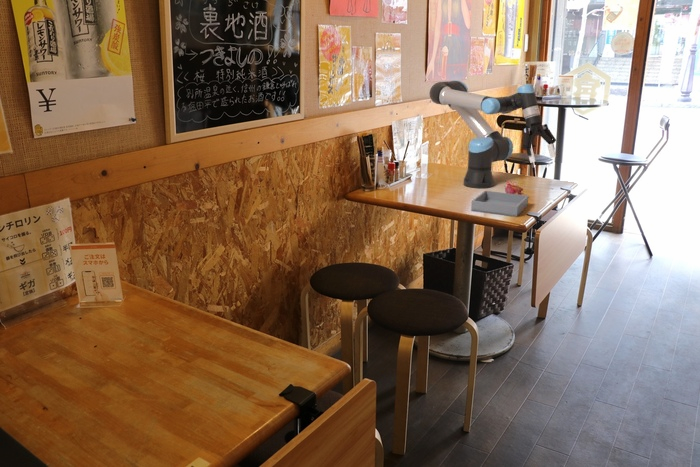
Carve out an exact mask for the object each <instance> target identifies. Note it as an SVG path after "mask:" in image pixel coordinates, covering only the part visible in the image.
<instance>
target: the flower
mask: <svg viewBox="0 0 700 467" xmlns="http://www.w3.org/2000/svg"><path fill="white" fill-rule="evenodd" d="M505 183H506V186H505V187H504V191H505V192H504V193H509V194H518V195H525V193H524V192H523V191H524V188H523V187H521V186H519V185H518V184H517V182H513V181H511V180H508V181H505Z"/></svg>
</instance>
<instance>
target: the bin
mask: <svg viewBox="0 0 700 467" xmlns="http://www.w3.org/2000/svg"><path fill="white" fill-rule="evenodd" d="M470 206H471V207H470V208H471V209H470V210H471V212H477V213H485V214H491V215H498V216H499V215H500V216H505V217H506V216H507V217H512V218H513V217H514V218H518V217H519V215H520V214H522V212H523V211H524V210H525V209H526V208H527V207H528V206H529V195H526V194H521V195H518V194H509V193H506V192H500V191H490V190H484V191H483V192H482V193H481V192H480V194H479V195H477V196H476V197H474V198H473V199H472V200H471V205H470Z"/></svg>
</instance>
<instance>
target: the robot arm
mask: <svg viewBox="0 0 700 467" xmlns="http://www.w3.org/2000/svg"><path fill="white" fill-rule="evenodd" d="M468 90H469V89H468V86H467V85H466V84H465V82H463V81H461V80H450V81H449V80H448V81H439V82H435V83H433V85H432V86H431V87H430V89H429V98H430V101H432V102H433V103H434V104H436V105H441V106H448V107H449V108H450V110H452V111H455V112H457V114H458V115H459V117H460V118H462V120H463V121H464V123H465V124H466V125H467V126H468V127H469V129H470V130H471V131H472V133H473V134H474V135H475V136H476V137H475V138H472V139H471V140H469V145H468V156H467V157H468V158H467V160H468V161H467V163H468V164H467V170H466V173H465V176H464V178H463V181H462V182H463V183H462V184H463V185H464V187H468V188H474V189H488V188H492V187H493V186H495V179H494V176H493V171H492V165H493V163H495V162H501V161H504V160H507V159H509V158H510V157H511V155H512V154H513V151H514V150H513V149H514V143H513V141H512V140H511V139H510V138H509V137H508V136H503V135H502V134H501V133H500V132H499V131H498V130H494V129H493V128H492V126H491V125H490V124H489V123H488V122H487V120H486V119H485V118H484V117H483V115H482V114H481V113H480V112H483V113H484V114H485V115H496V114H503V115H505V114H506V115H507V114H510V113H513V112H514V111H517V110H519V109H521V112H522V115H523V118H524V122H525V128H523V129H522V132H523V134H522V136H523V137H522V144H521V148H522V149H523V150H525V151H526V154H527V156H528V159H529V162H530V164H531V163H535V162H536V157H535V153H534V150H533V148H532V144H533V142H534V138H536V136H539V137H541V138H542V139H543V141H545V142H546V143H547V148H548V152H549V156H550V159H552V158H556V157H557V156H556V151H555V149H556V148H555V145H554V144H555V143H556V142H557V139H556V138H555V136H554V135H553V133H552V132H551V130H550V128H549V126H548V124H547V123H545V124H542V122H543V120H542V115H541V112H540V108H539V105H538V101H537V95H536V91H535V88H534V85H533V84H532V83H526V84H521V85H519V86H518V87H517V88H516V92H515V93H513V94H511V95H507V96H498V97H494V96H488V95H483V94H478V93H472V92H469V91H468ZM479 111H480V112H479Z"/></svg>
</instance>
